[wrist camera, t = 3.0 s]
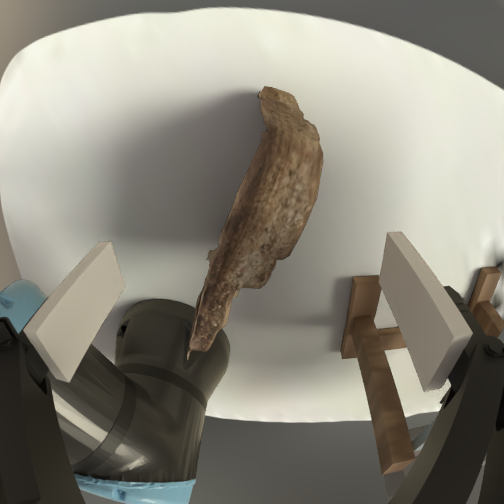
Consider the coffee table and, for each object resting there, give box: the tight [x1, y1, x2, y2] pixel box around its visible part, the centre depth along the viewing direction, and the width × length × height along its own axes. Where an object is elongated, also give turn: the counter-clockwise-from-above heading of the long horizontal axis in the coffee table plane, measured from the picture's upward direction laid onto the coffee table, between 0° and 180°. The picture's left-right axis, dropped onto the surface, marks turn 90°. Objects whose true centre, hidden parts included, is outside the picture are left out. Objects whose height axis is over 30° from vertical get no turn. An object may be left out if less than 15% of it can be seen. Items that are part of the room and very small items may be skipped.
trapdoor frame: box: [341, 267, 504, 474], centre depth 24 cm, size 22×12×20 cm, turn 94°
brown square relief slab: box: [187, 86, 323, 360], centre depth 20 cm, size 17×4×15 cm, turn 161°
